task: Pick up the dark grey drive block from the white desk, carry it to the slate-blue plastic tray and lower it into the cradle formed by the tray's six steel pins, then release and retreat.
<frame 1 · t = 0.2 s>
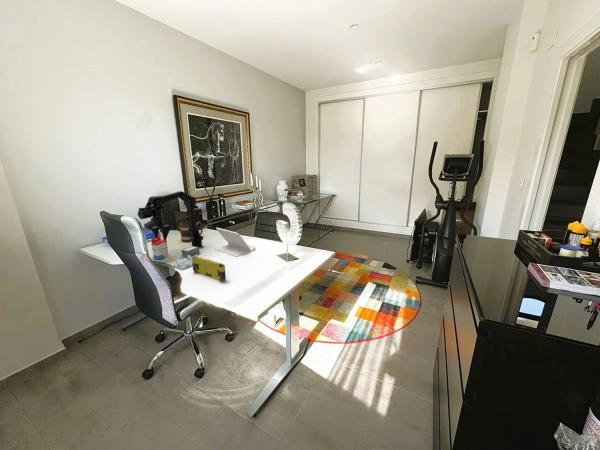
hand: (160, 239, 161), 14 cm above the table, fingers open, 9 cm apart
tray: (188, 263, 156), on the table
gaming console: (209, 276, 139), on the table
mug: (193, 239, 208), on the table
tablet stand: (235, 250, 183), on the table
ink box: (161, 257, 167), on the table
drive: (191, 255, 172), on the table
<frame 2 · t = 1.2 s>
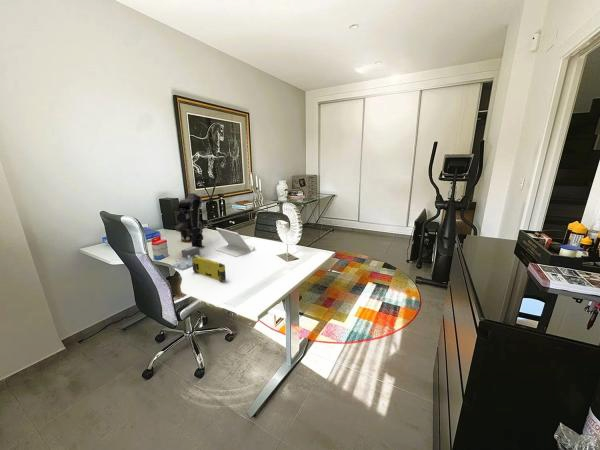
hand: (189, 240, 169), 11 cm above the table, fingers open, 9 cm apart
nothing on the table moved.
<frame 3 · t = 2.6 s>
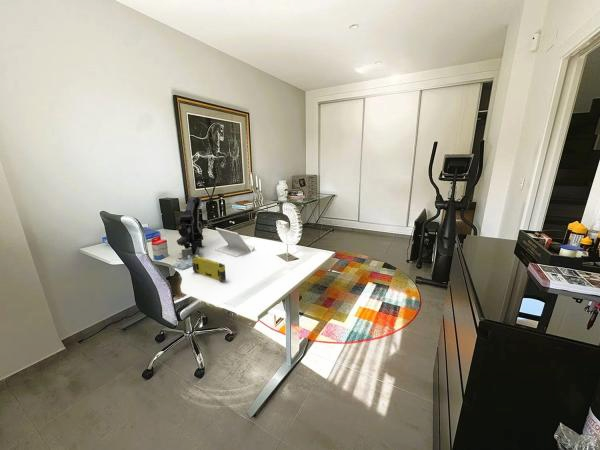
hand: (191, 253, 171), 1 cm above the table, fingers closed on drive, 5 cm apart
drive: (191, 255, 171), on the table, touching gripper
everything else where it was.
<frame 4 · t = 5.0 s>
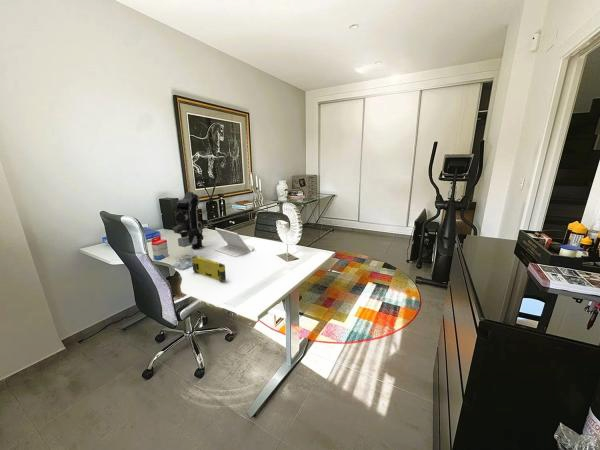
hand: (187, 242, 162), 12 cm above the table, fingers closed on drive, 5 cm apart
drive: (188, 244, 162), point 10 cm above the table, touching gripper
everything else where it was.
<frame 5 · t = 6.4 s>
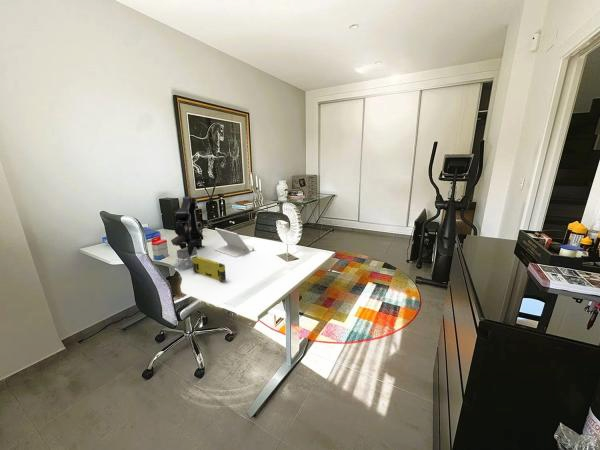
hand: (187, 254, 155), 6 cm above the table, fingers closed on drive, 5 cm apart
drive: (187, 256, 155), point 5 cm above the table, touching gripper
when the fingers open (4 cm above the table, at t = 7.3 s): drive drops 2 cm, resting on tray.
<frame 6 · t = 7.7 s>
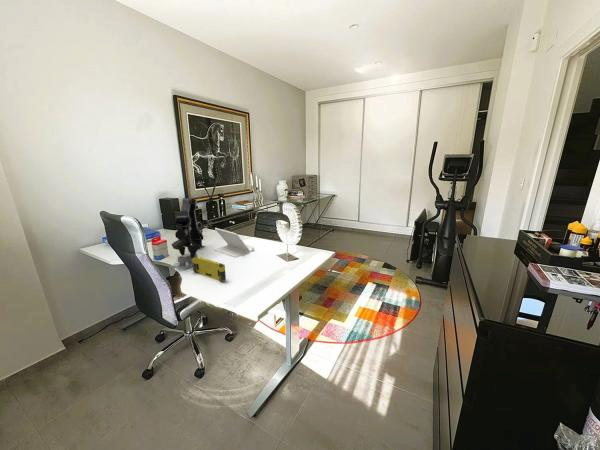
hand: (187, 258, 156), 4 cm above the table, fingers open, 9 cm apart
drive: (188, 262, 156), point 1 cm above the table, touching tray
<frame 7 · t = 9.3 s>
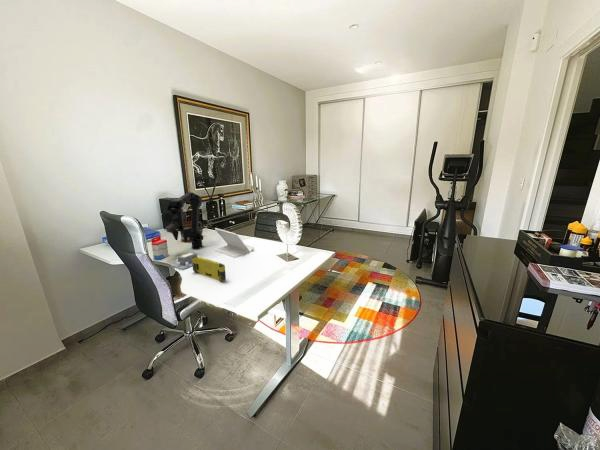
hand: (181, 241, 165), 12 cm above the table, fingers open, 9 cm apart
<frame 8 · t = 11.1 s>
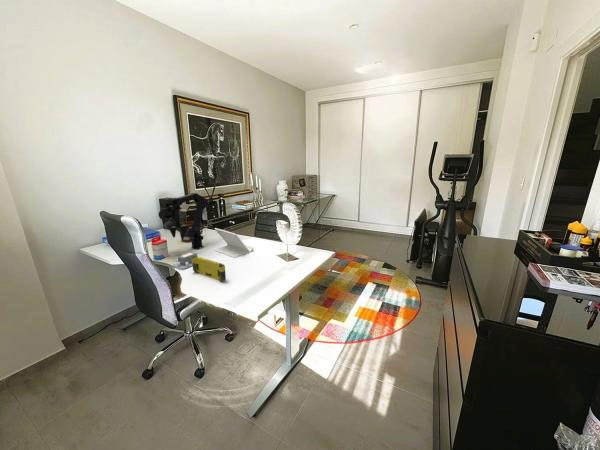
hand: (178, 238, 170), 12 cm above the table, fingers open, 9 cm apart
at the end: drive 0.0 cm off-centre on the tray, point 1.0 cm above the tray's base; drive tilted 0°; the gripper is holding nothing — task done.
